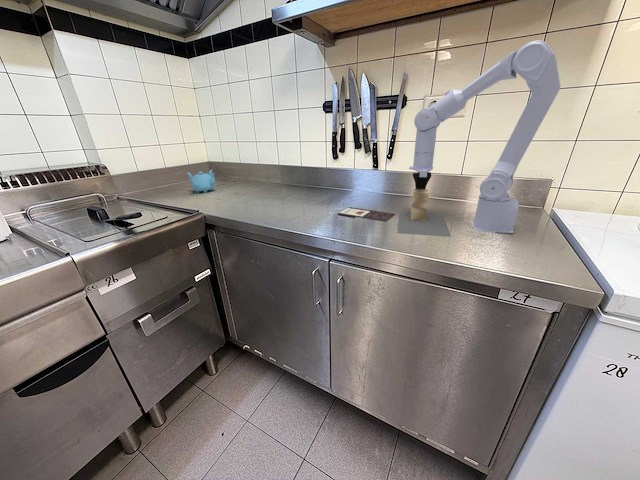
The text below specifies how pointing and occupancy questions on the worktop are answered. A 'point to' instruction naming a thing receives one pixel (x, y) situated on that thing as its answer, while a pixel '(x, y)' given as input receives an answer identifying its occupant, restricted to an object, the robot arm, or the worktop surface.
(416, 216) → the birch block
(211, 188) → the teapot
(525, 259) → the worktop surface
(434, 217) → the rubber mat
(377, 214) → the chocolate bar
